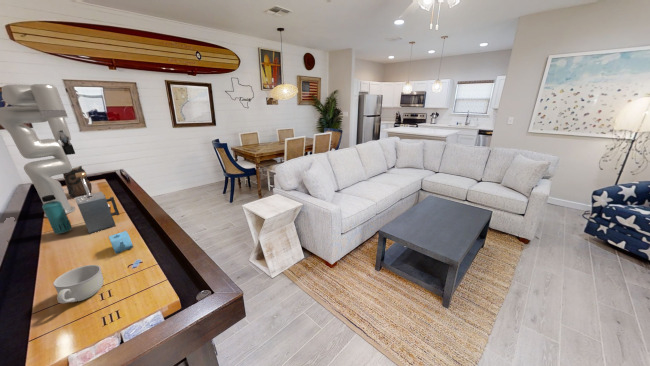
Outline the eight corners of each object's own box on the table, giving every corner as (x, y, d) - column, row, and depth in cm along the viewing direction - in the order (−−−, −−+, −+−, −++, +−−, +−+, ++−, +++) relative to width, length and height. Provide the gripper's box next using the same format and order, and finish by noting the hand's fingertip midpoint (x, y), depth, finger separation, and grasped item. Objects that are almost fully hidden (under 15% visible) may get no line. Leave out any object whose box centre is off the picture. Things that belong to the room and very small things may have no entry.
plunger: (81, 207, 118) (68, 173, 112) (102, 202, 123) (90, 169, 117) (83, 211, 113) (69, 176, 107) (105, 205, 118) (92, 172, 112)
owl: (94, 190, 174) (84, 164, 167) (94, 195, 166) (84, 167, 159) (69, 195, 166) (58, 168, 159) (69, 200, 157) (56, 172, 151)
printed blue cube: (135, 252, 101) (130, 236, 98) (117, 259, 96) (111, 243, 94) (129, 241, 108) (124, 227, 106) (112, 247, 104) (107, 232, 101)
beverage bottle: (61, 237, 113) (43, 199, 107) (51, 235, 115) (33, 198, 108) (77, 230, 119) (61, 193, 113) (67, 229, 121) (51, 192, 114)
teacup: (83, 283, 83) (74, 264, 81) (115, 280, 84) (108, 262, 82) (42, 317, 70) (30, 296, 68) (81, 314, 71) (70, 293, 68)
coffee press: (87, 227, 121) (74, 197, 116) (119, 218, 131) (109, 189, 125) (89, 234, 115) (76, 202, 110) (123, 223, 125) (113, 194, 119)
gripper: (42, 115, 106) (58, 152, 112) (41, 115, 95) (58, 157, 101) (66, 114, 111) (80, 149, 117) (67, 114, 100) (82, 153, 106)
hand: (70, 153), depth 109 cm, fingers open, 9 cm apart
